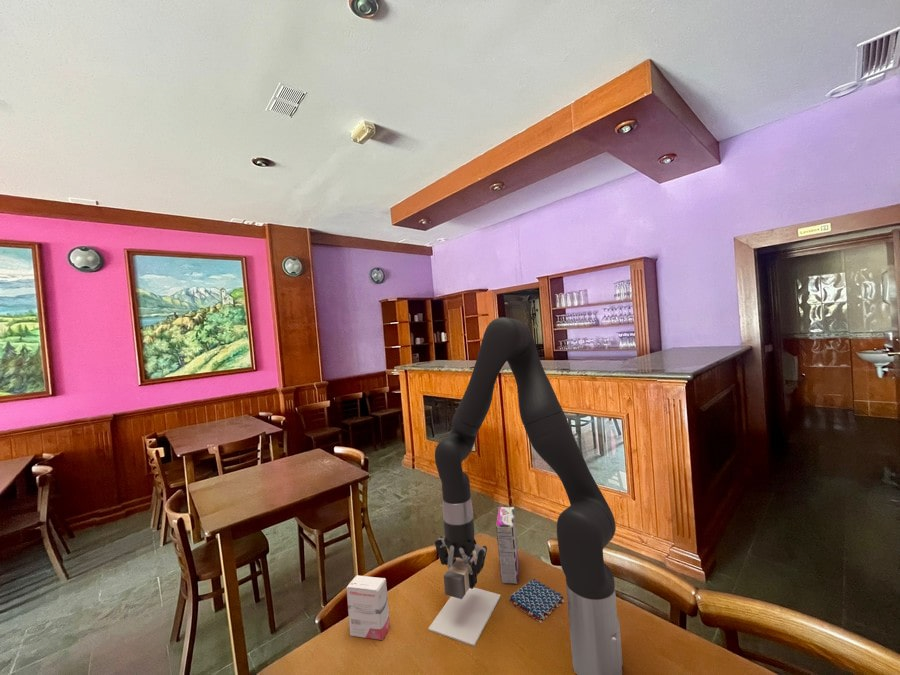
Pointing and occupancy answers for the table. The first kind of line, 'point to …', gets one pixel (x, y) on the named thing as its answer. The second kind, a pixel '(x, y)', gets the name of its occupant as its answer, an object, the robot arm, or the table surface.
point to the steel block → (457, 579)
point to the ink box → (368, 607)
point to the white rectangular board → (465, 616)
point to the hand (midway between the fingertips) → (463, 583)
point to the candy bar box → (507, 545)
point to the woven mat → (536, 600)
